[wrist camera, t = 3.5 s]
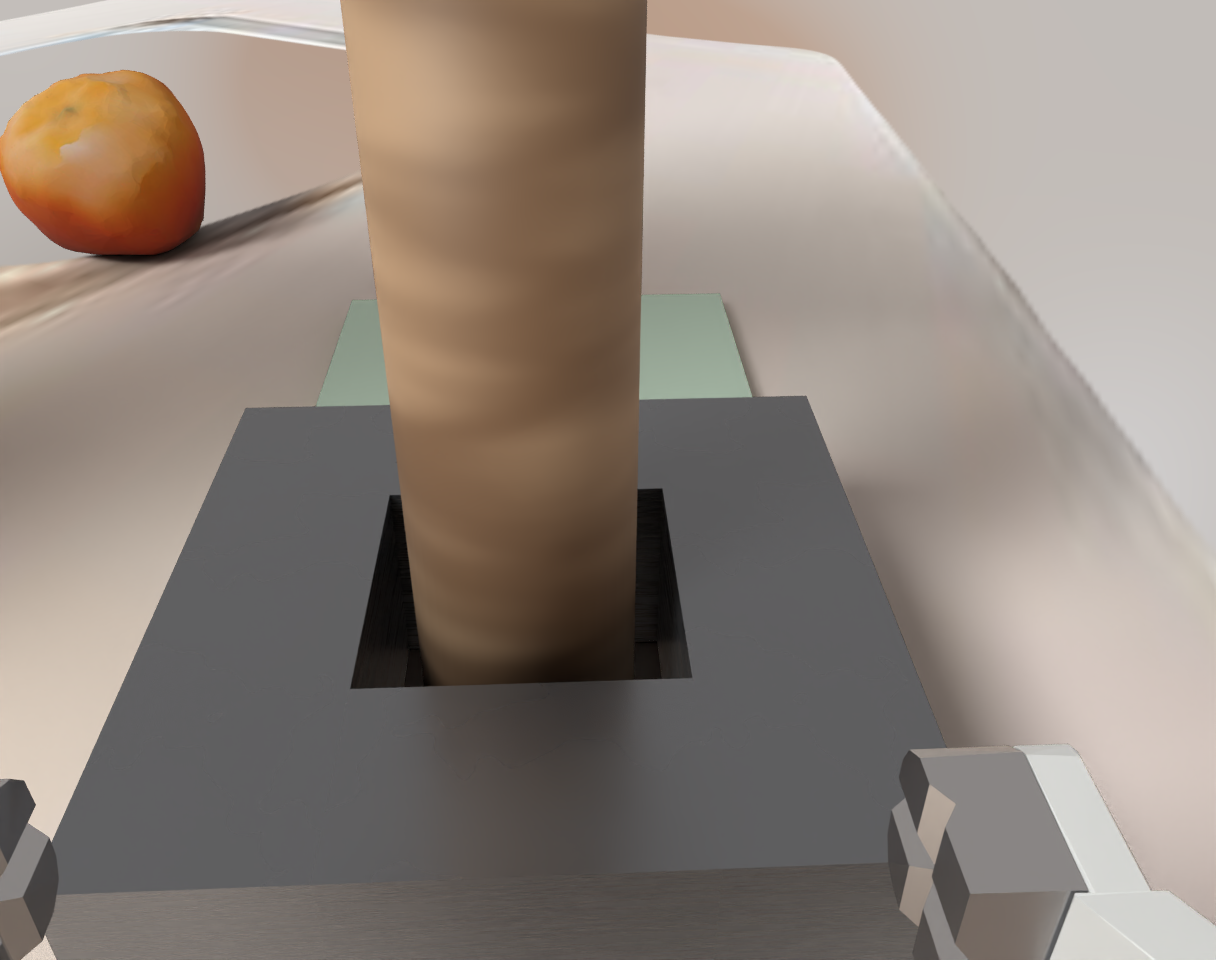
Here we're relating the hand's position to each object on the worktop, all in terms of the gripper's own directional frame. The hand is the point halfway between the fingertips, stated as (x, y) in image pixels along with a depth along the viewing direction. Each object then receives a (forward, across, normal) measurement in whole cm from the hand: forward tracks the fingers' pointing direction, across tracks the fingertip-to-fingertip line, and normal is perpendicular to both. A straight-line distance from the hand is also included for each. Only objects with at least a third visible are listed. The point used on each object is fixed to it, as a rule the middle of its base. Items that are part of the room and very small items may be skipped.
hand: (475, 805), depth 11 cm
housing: (+10, 0, +10) cm, 14 cm away
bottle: (+10, 0, +10) cm, 14 cm away
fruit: (+40, +18, +10) cm, 45 cm away
